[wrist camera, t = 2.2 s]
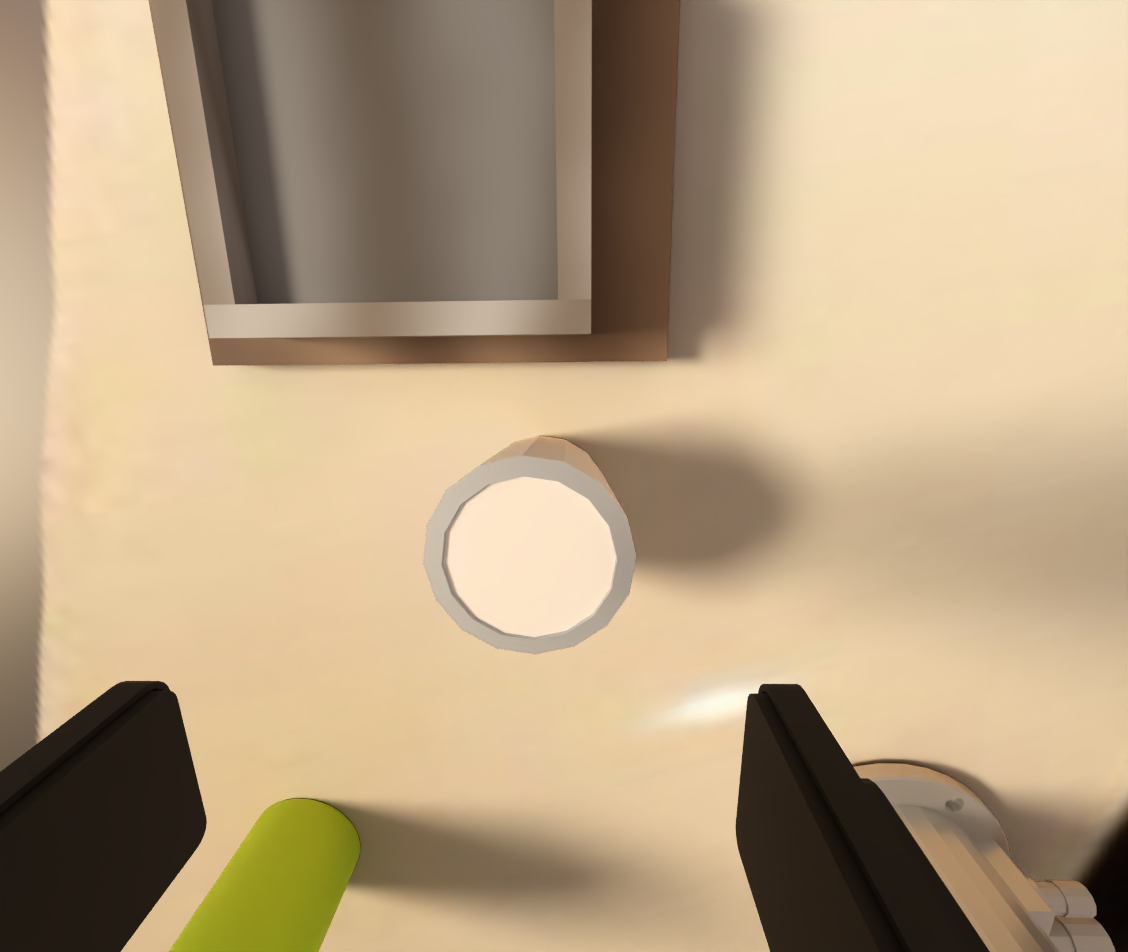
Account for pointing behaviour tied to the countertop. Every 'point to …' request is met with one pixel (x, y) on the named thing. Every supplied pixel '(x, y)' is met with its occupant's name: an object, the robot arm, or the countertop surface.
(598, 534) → the white cup
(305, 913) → the soap dispenser
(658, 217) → the stand
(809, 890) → the robot arm
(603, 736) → the countertop surface
